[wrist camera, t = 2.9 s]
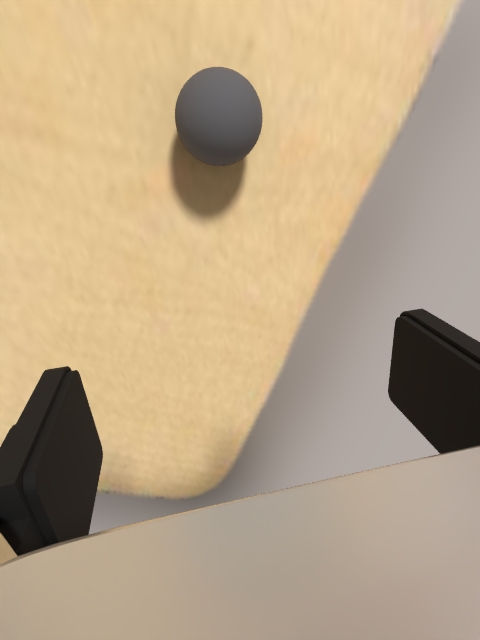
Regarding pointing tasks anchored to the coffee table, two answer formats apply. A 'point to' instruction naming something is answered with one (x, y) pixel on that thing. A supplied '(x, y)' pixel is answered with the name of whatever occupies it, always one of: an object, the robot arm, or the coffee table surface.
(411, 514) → the robot arm
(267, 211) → the coffee table surface
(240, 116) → the grey ball
